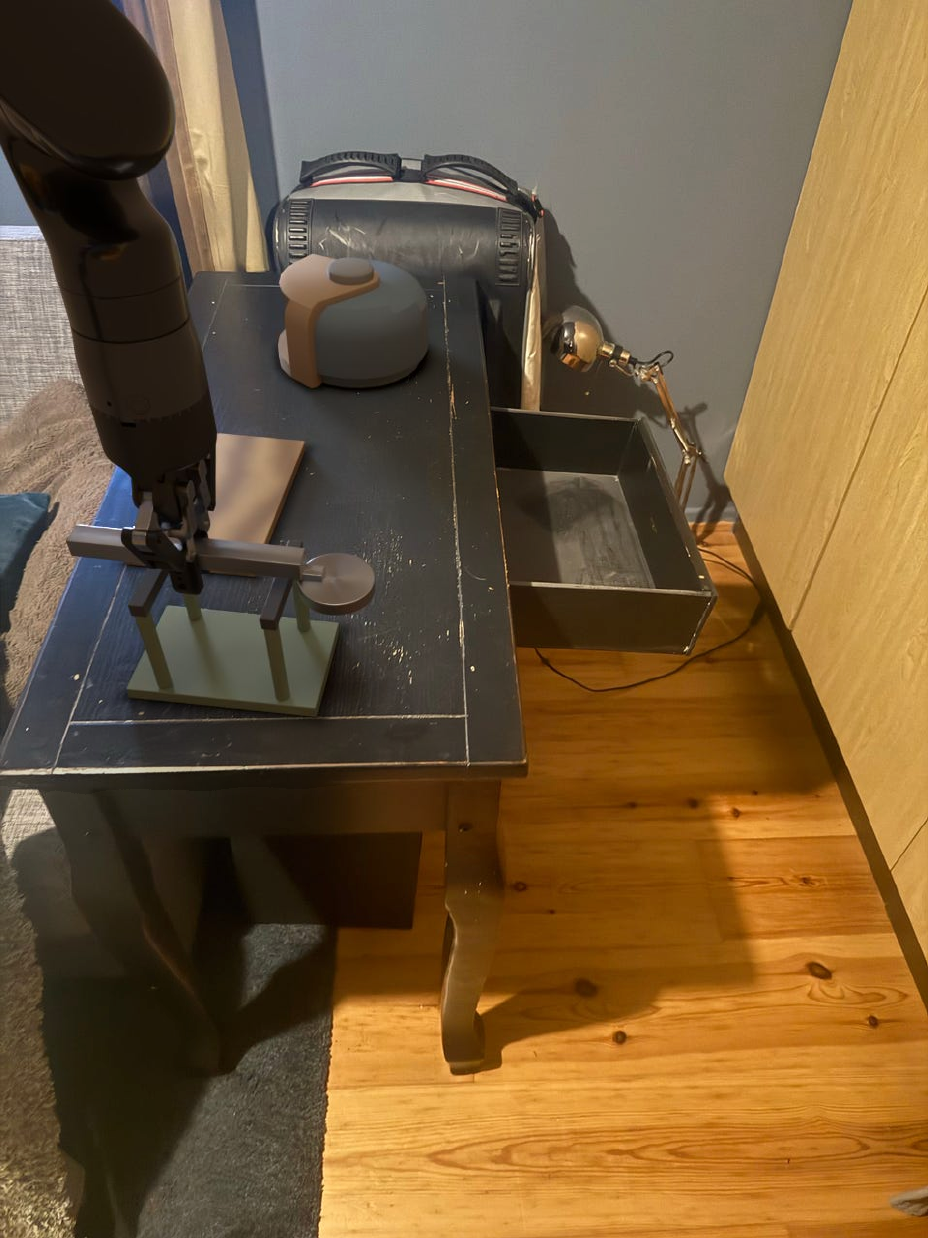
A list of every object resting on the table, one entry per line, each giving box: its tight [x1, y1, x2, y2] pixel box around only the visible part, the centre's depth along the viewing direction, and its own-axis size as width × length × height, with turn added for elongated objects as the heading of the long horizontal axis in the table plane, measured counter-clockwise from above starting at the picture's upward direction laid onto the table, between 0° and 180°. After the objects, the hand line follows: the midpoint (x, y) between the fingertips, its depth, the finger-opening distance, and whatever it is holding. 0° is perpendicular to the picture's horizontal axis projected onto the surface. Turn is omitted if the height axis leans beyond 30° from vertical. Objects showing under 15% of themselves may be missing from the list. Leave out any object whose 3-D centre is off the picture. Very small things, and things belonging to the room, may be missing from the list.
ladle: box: [65, 524, 377, 617], centre depth 64 cm, size 24×6×3 cm, turn 85°
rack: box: [125, 539, 340, 718], centre depth 68 cm, size 16×10×11 cm, turn 85°
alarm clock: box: [277, 253, 430, 389], centre depth 107 cm, size 19×20×12 cm
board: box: [124, 432, 307, 578], centre depth 87 cm, size 13×22×1 cm, turn 175°
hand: (194, 579), depth 65 cm, fingers closed on ladle, 2 cm apart
